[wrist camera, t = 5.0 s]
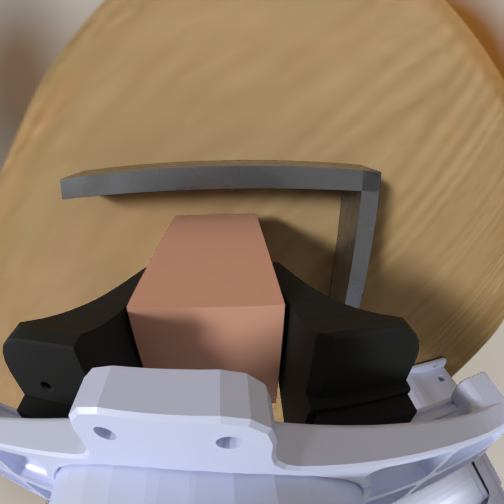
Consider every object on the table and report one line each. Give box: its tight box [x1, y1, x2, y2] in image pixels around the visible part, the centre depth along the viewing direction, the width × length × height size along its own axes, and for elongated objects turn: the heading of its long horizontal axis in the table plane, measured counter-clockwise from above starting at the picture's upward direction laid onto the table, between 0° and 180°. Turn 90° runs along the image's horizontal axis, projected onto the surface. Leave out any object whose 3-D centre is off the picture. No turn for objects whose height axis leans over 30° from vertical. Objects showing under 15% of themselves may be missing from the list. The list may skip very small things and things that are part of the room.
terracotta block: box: [127, 214, 285, 403], centre depth 11 cm, size 4×4×8 cm
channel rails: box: [60, 160, 381, 309], centre depth 17 cm, size 16×16×2 cm
